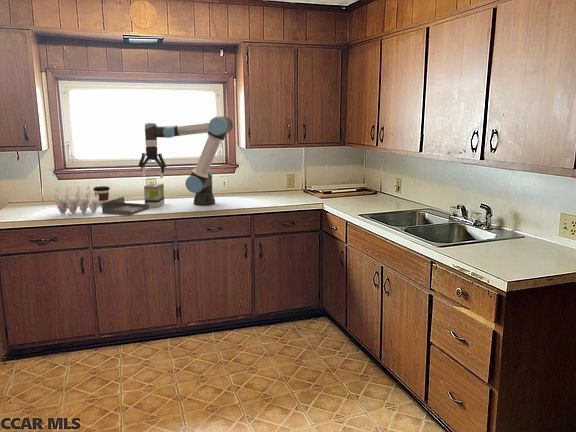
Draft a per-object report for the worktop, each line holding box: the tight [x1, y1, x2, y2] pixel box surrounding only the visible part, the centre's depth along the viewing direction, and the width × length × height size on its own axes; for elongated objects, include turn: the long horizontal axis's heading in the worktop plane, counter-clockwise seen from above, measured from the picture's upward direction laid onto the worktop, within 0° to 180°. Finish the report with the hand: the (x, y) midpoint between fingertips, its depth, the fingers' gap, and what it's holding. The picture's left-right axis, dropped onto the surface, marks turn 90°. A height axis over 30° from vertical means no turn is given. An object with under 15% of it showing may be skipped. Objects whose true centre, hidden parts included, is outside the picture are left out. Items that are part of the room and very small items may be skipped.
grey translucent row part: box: [55, 185, 99, 216], centre depth 301 cm, size 18×18×25 cm
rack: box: [101, 196, 150, 216], centre depth 311 cm, size 20×22×7 cm
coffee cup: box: [92, 185, 110, 206], centre depth 332 cm, size 11×11×12 cm
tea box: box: [143, 182, 165, 208], centre depth 329 cm, size 15×10×15 cm, turn 0°
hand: (152, 177), depth 326 cm, fingers open, 13 cm apart
